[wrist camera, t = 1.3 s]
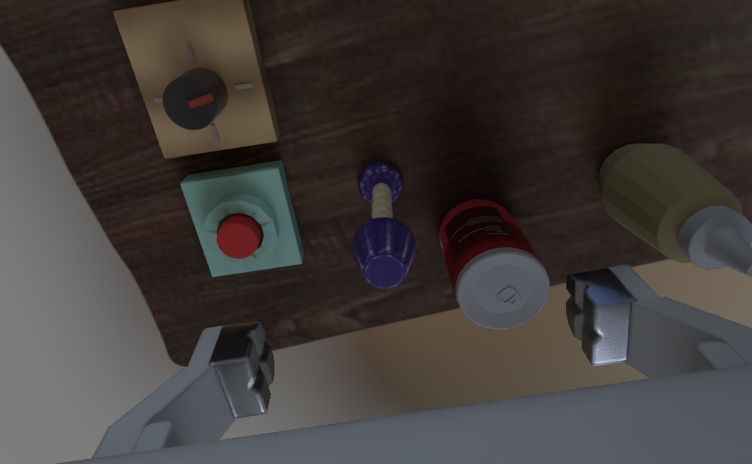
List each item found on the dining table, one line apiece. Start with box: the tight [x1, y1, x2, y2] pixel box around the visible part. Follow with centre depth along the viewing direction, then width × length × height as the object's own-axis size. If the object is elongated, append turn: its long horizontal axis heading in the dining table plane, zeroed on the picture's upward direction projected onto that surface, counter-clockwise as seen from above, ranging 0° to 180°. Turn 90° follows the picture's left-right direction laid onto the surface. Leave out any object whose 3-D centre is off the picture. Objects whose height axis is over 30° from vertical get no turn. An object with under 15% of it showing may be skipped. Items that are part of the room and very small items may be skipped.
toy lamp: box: [352, 162, 415, 289], centre depth 42 cm, size 5×5×17 cm
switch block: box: [180, 160, 304, 277], centre depth 49 cm, size 10×9×4 cm
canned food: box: [439, 199, 550, 329], centre depth 48 cm, size 8×8×11 cm
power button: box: [217, 215, 261, 259], centre depth 47 cm, size 4×4×2 cm
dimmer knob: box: [163, 68, 228, 130], centre depth 41 cm, size 4×4×4 cm
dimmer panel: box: [113, 0, 280, 159], centre depth 43 cm, size 12×10×3 cm
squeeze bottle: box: [598, 144, 752, 277], centre depth 42 cm, size 8×8×18 cm
